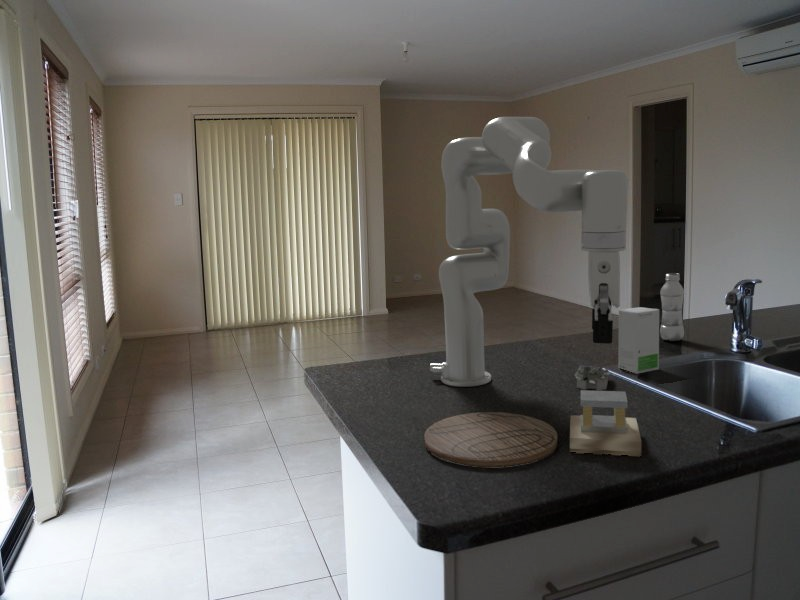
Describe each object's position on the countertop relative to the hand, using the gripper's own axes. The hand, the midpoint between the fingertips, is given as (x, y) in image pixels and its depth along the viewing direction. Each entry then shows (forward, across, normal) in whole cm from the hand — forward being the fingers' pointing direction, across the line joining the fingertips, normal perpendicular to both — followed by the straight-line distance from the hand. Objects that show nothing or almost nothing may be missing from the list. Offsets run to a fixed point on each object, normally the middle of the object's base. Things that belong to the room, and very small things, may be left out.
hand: (601, 336), depth 120 cm
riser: (+20, -1, -1) cm, 20 cm away
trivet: (+21, -3, +20) cm, 29 cm away
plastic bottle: (+22, +84, -23) cm, 90 cm away
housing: (+17, -1, -1) cm, 17 cm away
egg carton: (+21, +37, +1) cm, 43 cm away
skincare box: (+21, +51, -11) cm, 56 cm away
